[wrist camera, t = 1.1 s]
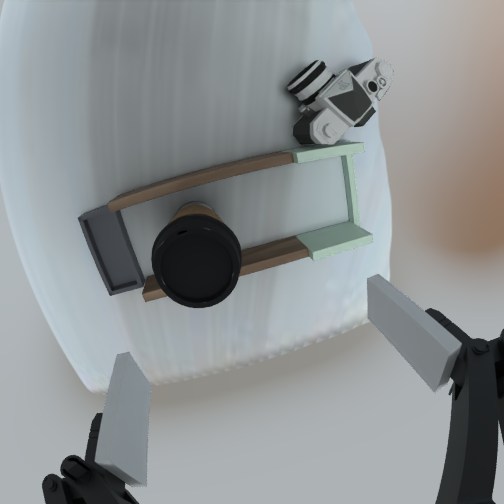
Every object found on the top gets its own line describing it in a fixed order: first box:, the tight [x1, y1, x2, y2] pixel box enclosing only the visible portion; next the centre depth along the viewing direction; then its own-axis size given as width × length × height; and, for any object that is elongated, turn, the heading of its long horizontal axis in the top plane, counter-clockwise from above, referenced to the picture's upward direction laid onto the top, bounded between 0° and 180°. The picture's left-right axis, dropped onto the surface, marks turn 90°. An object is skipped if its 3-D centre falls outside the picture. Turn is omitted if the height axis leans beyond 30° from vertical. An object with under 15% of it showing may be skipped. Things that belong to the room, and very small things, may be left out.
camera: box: [287, 58, 394, 145], centre depth 29 cm, size 16×9×10 cm, turn 139°
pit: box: [78, 205, 145, 296], centre depth 35 cm, size 12×6×2 cm, turn 12°
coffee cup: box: [151, 202, 242, 308], centre depth 30 cm, size 8×8×15 cm
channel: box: [107, 152, 309, 302], centre depth 35 cm, size 13×22×5 cm, turn 102°
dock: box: [280, 141, 373, 261], centre depth 36 cm, size 13×10×6 cm
